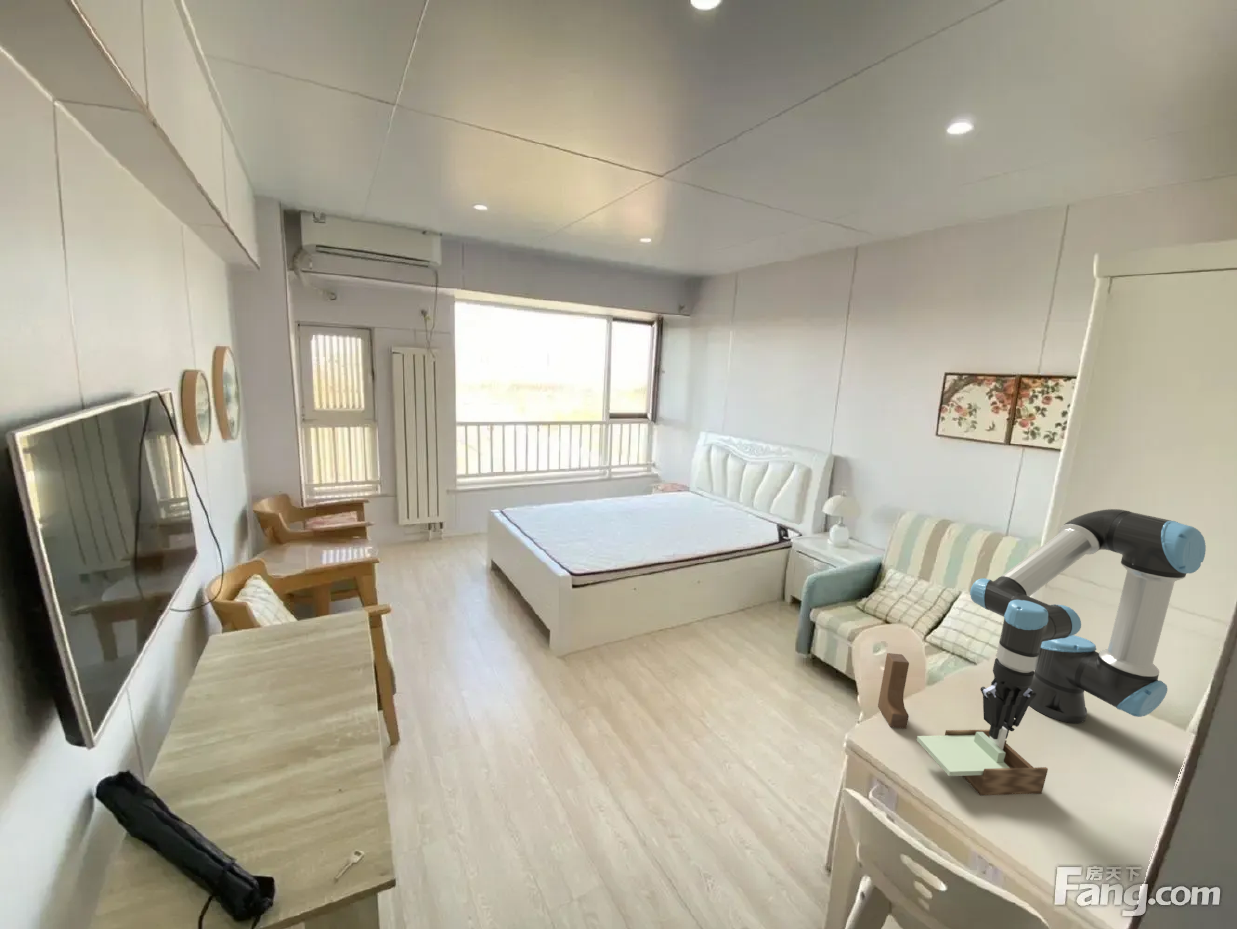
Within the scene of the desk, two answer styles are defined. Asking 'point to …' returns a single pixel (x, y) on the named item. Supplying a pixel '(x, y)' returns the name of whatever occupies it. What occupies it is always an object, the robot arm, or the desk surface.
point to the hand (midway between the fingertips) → (994, 748)
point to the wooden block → (894, 691)
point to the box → (1006, 773)
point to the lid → (964, 753)
